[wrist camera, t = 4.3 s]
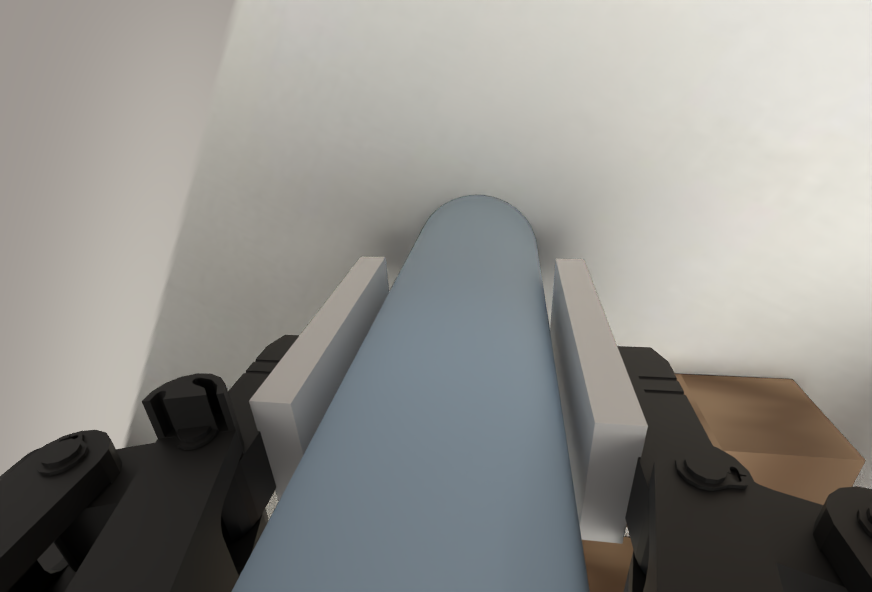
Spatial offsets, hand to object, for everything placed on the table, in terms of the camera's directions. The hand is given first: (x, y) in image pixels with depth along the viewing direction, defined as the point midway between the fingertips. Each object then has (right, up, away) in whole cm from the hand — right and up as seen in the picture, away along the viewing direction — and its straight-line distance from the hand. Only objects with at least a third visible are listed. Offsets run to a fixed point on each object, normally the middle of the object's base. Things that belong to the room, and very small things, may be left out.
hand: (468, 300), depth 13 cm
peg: (+1, +2, +3) cm, 4 cm away
